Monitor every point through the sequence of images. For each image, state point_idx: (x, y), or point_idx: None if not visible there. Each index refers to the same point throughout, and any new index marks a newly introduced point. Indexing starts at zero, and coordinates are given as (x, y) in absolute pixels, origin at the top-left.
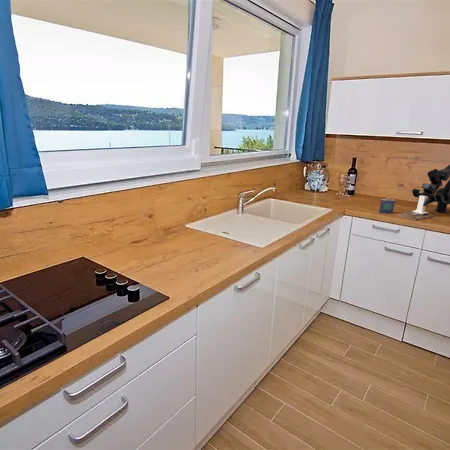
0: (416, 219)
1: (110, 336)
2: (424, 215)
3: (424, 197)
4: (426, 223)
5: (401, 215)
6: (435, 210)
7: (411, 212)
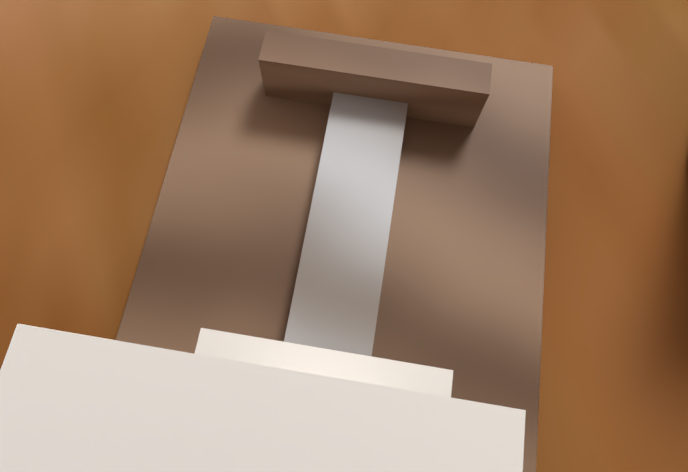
0: (212, 31)
1: None
2: None
3: (74, 344)
4: (51, 19)
5: (480, 58)
6: None
7: None
